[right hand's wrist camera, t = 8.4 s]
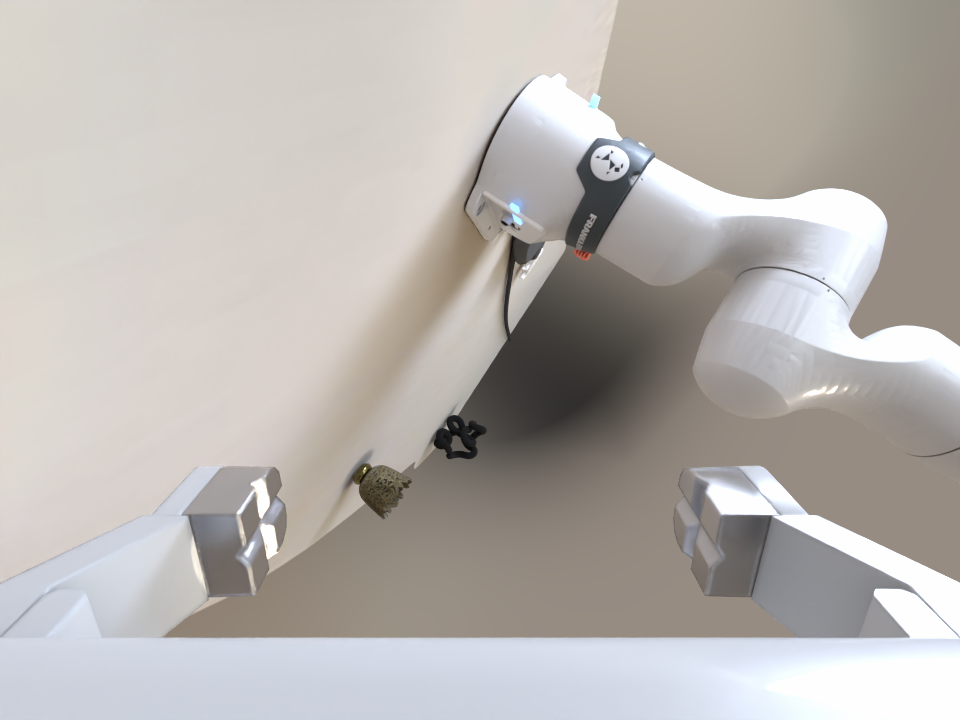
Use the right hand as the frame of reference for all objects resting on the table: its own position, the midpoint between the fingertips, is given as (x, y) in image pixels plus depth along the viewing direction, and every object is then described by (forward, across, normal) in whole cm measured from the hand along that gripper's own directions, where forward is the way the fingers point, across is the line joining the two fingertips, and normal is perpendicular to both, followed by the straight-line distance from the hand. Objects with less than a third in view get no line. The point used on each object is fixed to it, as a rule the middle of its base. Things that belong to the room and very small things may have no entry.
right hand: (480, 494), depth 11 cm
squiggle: (+116, -11, -62) cm, 132 cm away
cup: (+62, -20, -40) cm, 77 cm away
